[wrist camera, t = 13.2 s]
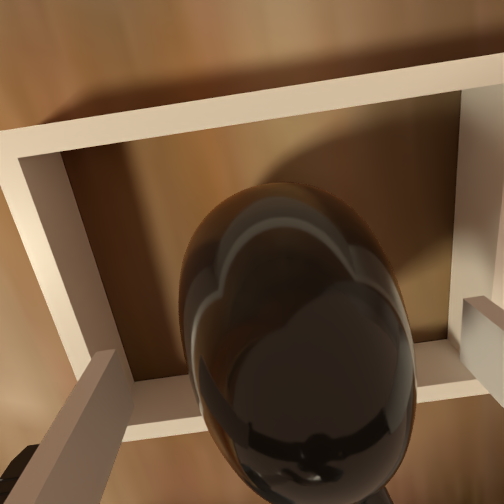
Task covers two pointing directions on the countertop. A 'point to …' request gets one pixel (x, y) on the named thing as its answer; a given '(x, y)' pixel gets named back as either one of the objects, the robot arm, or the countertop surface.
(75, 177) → the countertop surface
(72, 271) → the box
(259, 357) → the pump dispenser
